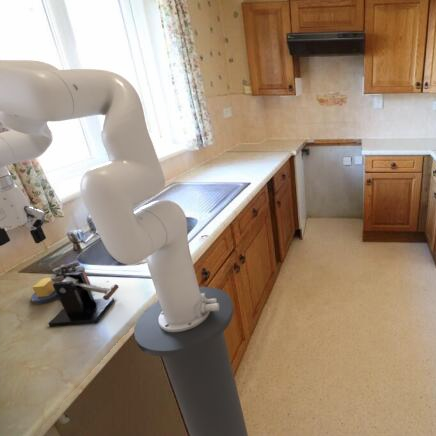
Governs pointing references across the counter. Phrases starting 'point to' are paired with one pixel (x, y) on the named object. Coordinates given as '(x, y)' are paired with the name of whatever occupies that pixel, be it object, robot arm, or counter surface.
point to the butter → (44, 287)
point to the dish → (44, 298)
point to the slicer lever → (93, 287)
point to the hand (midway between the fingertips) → (23, 242)
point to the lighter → (67, 269)
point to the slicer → (78, 303)
